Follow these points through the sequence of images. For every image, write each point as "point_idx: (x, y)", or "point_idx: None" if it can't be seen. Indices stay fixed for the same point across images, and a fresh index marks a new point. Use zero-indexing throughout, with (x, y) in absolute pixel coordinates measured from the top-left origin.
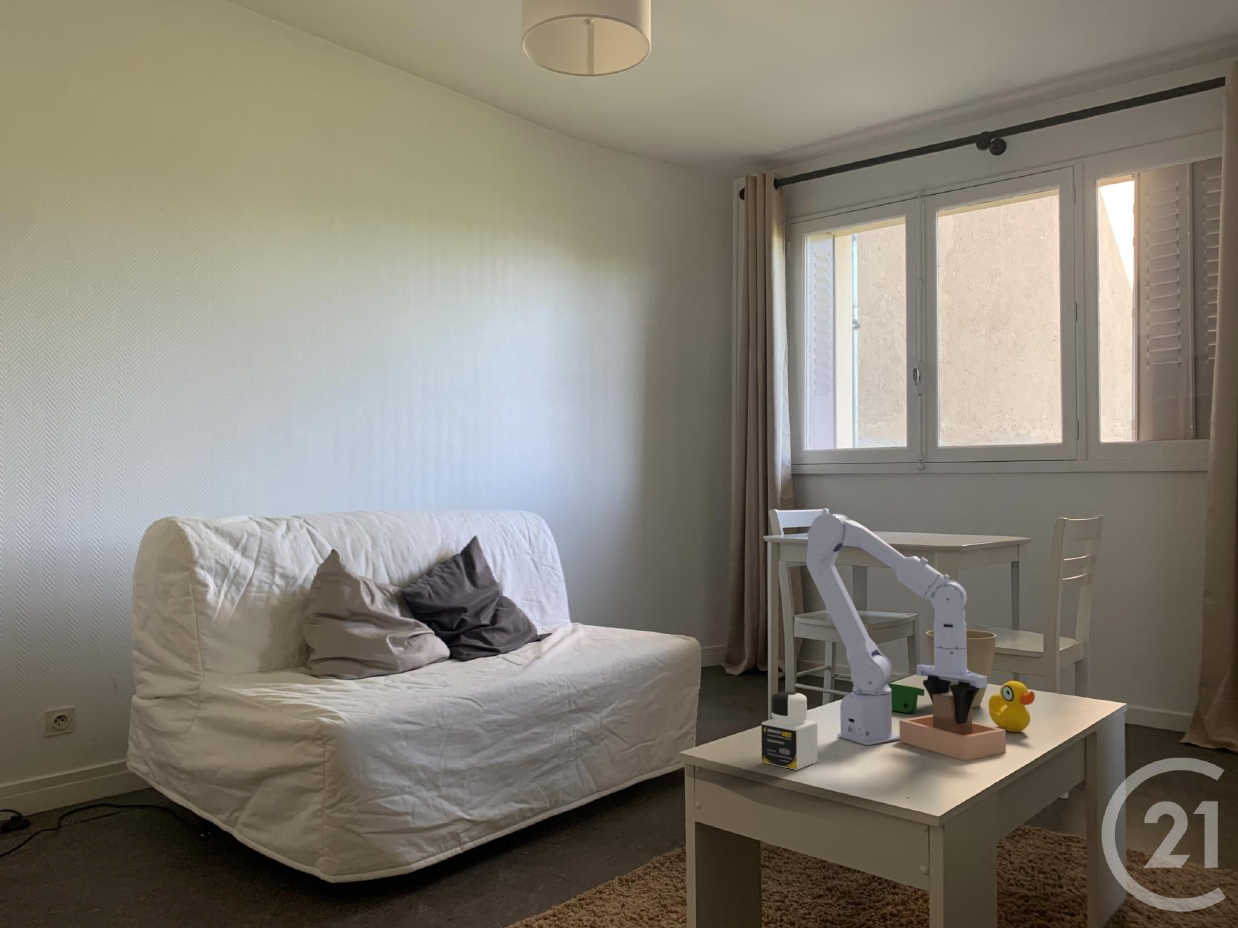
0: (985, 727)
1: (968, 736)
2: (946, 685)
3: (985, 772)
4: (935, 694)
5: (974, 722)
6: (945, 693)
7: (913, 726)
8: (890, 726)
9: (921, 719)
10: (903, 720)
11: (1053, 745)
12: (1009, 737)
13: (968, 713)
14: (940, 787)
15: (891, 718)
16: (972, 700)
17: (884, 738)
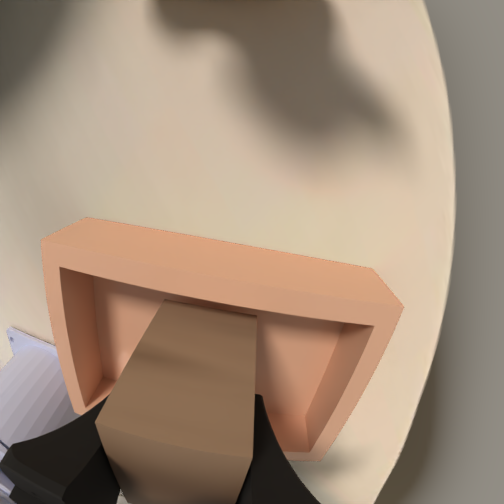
0: (314, 314)
1: (323, 450)
2: (90, 485)
3: (376, 436)
4: (134, 501)
5: (235, 283)
6: (133, 480)
7: None
8: (71, 404)
9: (75, 357)
10: (80, 410)
11: (438, 60)
12: (283, 43)
13: (268, 422)
14: (336, 498)
15: (56, 409)
16: (294, 476)
17: None
